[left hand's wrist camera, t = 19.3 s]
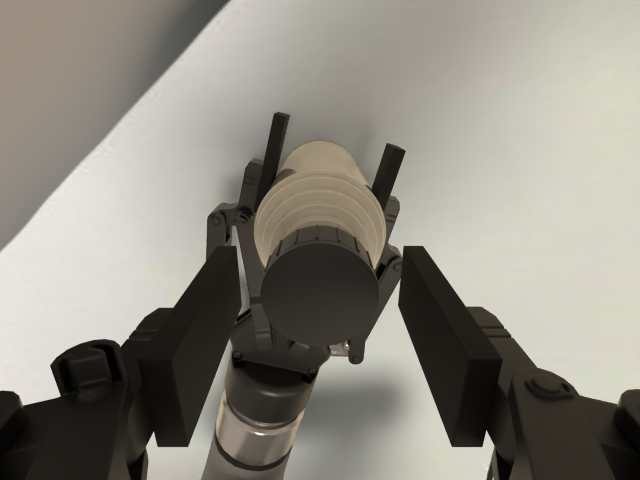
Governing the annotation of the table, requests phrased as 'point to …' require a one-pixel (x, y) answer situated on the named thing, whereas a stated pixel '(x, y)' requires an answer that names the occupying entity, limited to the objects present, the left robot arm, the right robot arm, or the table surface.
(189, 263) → the table surface
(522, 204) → the table surface
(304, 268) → the cap
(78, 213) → the table surface
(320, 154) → the bottle
